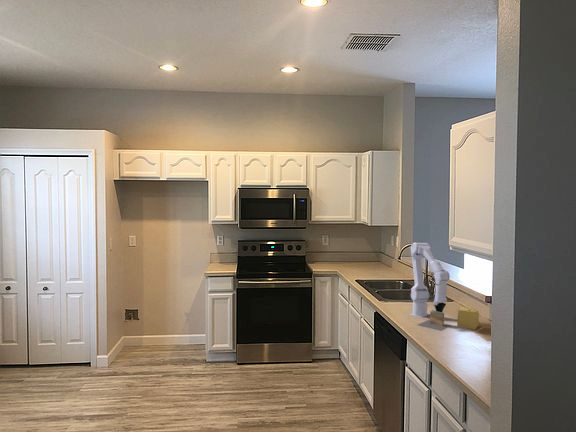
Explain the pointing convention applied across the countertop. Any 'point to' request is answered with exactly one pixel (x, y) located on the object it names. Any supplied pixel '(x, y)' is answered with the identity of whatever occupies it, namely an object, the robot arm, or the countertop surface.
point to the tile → (437, 318)
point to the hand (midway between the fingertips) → (438, 315)
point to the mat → (433, 326)
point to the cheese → (468, 318)
